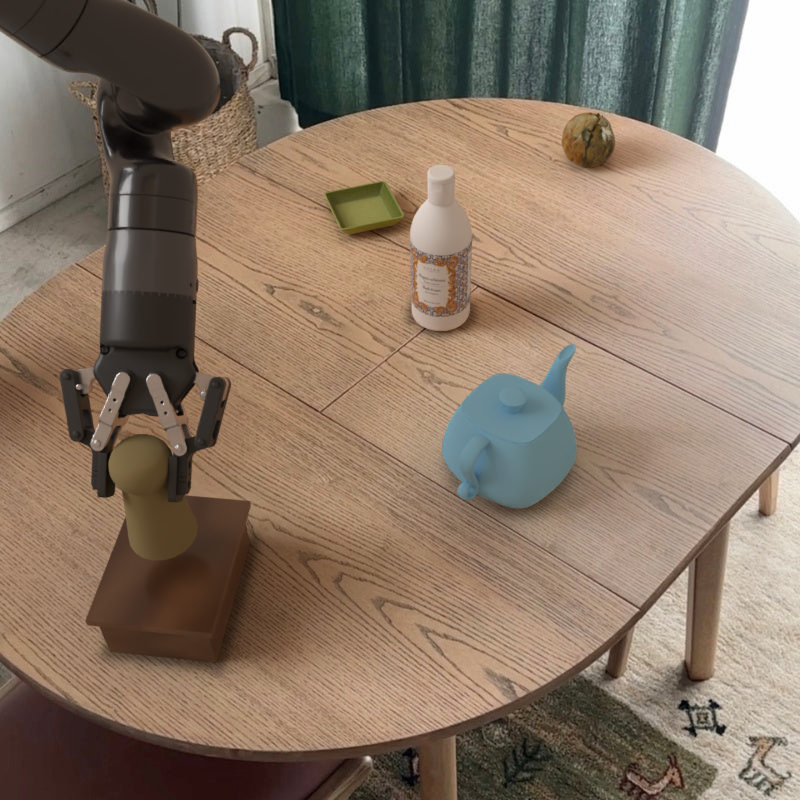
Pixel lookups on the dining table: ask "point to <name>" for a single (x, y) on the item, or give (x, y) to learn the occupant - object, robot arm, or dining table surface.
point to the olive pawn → (151, 498)
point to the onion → (588, 140)
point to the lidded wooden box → (175, 588)
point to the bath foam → (440, 256)
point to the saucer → (364, 207)
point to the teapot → (512, 438)
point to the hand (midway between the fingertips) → (141, 497)
